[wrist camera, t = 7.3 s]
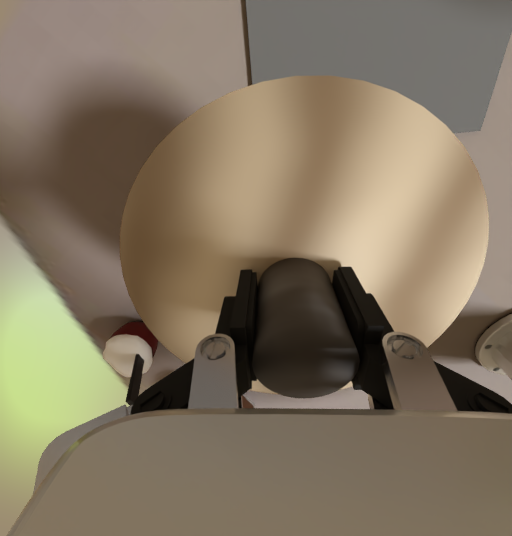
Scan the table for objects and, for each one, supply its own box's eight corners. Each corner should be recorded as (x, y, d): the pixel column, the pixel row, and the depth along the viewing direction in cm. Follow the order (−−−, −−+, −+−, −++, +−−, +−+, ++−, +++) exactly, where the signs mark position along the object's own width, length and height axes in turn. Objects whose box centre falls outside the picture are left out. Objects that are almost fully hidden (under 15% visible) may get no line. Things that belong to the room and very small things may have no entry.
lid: (543, 58, 9) (906, -23, 4) (417, 378, 17) (477, 482, 12) (74, 100, 10) (-119, 81, 5) (174, 379, 18) (139, 473, 14)
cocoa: (121, 342, 40) (66, 422, 30) (109, 312, 36) (43, 391, 26) (180, 347, 39) (144, 431, 29) (174, 317, 36) (131, 400, 26)
